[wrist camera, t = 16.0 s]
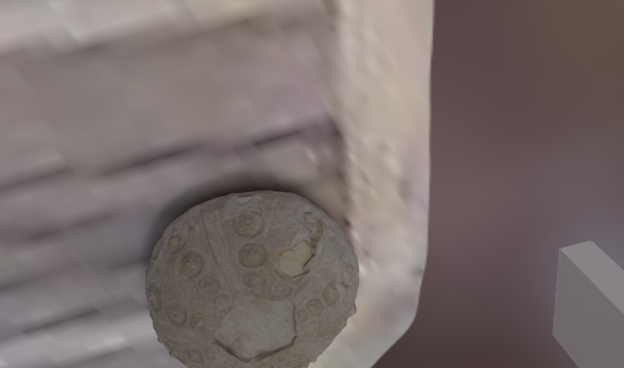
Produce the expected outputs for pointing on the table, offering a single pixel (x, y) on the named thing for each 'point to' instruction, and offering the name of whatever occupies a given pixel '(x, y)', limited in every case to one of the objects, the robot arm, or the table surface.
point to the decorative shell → (251, 282)
